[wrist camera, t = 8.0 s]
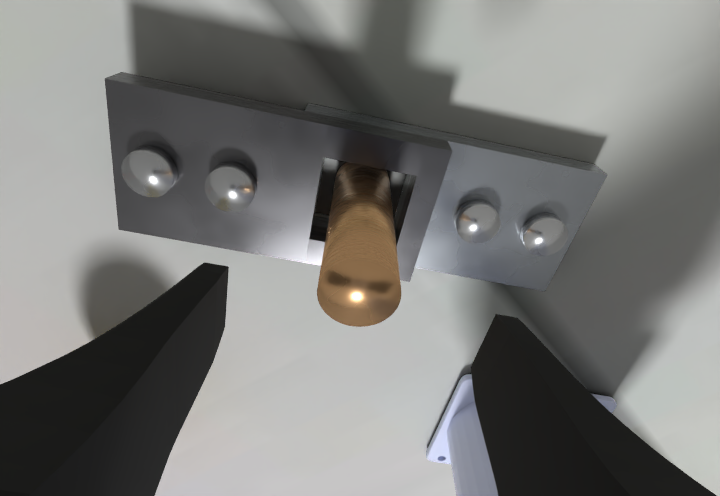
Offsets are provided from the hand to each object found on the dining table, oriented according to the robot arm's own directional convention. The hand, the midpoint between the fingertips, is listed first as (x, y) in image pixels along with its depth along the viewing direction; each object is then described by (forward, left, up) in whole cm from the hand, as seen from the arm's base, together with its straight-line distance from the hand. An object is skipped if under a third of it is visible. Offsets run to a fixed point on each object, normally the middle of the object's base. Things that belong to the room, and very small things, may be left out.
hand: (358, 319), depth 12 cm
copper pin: (0, 0, -9) cm, 9 cm away
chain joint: (0, 0, -9) cm, 9 cm away
